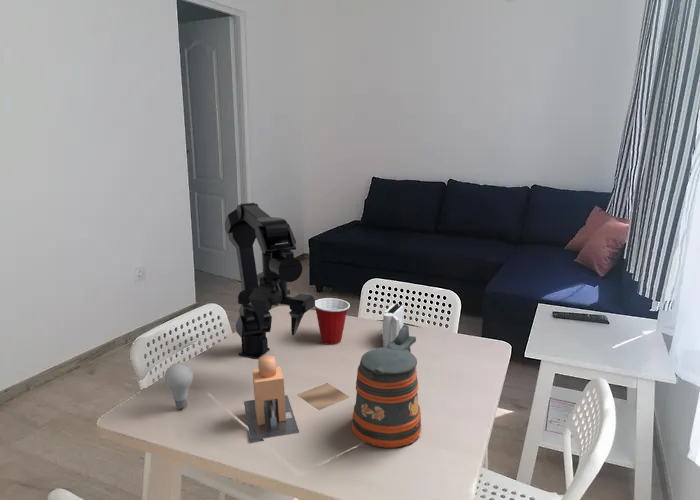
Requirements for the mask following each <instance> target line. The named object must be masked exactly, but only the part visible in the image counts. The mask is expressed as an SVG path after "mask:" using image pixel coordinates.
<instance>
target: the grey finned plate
mask: <svg viewBox="0 0 700 500" xmlns="http://www.w3.org/2000/svg"><path fill="white" fill-rule="evenodd" d="M244 407H245V413H246V414H245V415H246V420H247V426H248V427H247V428H248V434H249V439H250V443H255V442H256V443H257V442H261V441H264V439H268V438H275V437H280V436H281V437H283V436H287V435H294V434H300V430H299V427H298V424H297V421H296V418H295V415H294V412H293V409H292V405H291V402H290V399H289V396H288V395H286V394H285V411H286V421H280V422H279V419H278V415H277V412H276V408H275V399H272V400H266V401H264V414H265V424H263V425H258V422H257V417H256V411H255V399H251V400H245V401H244Z"/></svg>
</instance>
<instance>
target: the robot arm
mask: <svg viewBox="0 0 700 500" xmlns="http://www.w3.org/2000/svg"><path fill="white" fill-rule="evenodd" d="M225 218H226V219H225V221H224V229H225V233H226V234H227V236H228V240H229V241H230V243H231V244H232V245H233V246H234V248H235V250H236V257H237V264H238V270H239V278H240V284H241V291H239V293H238V294H237V304H238V305H240V306H239V310H238V311H239V312H238V313H239V316H238V319H237V320H236V324H235V329H236V330H235V331H236V333H237V335H238V336H240V339H241V341H240V342H241V351H240V352H238V356H243V357H248V358H253V359H259V358H260V357H262V356H265V354H267V353H268V352H269V351H270V347H268V346H269V345H268V337H267V333H270V332H271V329H272V318H273V316H272V314H271V313H270V312H271V308H272V306H275V307H277V306H278V305H285V306H286V305H287V306H289V309H290V311H289V312H288V314H289V315H290V318H291V321H290V322H291V323H290V328H291V329H290V330H291V336H292V337H294V336H295V335H296V334H297V331H298V329H299V326H300V324H301V321H302V319H303V317H304V315H305V313H307V312H308V311H310V310H311V309H314V308H315V307H314V306H315V300H316V299H315V296H314V295H312V294H305V293H298V294H297V295H295V296H294V297H292V296H289V295H291V289H288V283H293V282H295V281H297V280H299V278H300V277H301V275H302V273H303V265H302V262H301V261H300V260H299V258H296V257H295V254H294V250H297V247H296V244H297V241H296V238H295V236H294V232H293V231H292V228H291V226H290V224H289V223H288V221H287V220H286V219H284V218H282V217H276V216H275V217H274V216H270V215H269V214H268V213H267V212H266V211H264V210H263V209H261V208H260V206H259V204H258V203H255V202H247V203H246V202H244V203H240V204H238V205H237V206H236V208H235V209H234V210H233V211H231V212H229V213H228V214H227V216H226V217H225ZM255 241H257V243H258V246H259V248H260V251H261V260H262V263H261V264H262V266H261V267H262V276H261V277H258V272H257V264H256V257H255V252H254V244H255ZM258 278H259V280H258Z"/></svg>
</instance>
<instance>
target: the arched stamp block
mask: <svg viewBox="0 0 700 500" xmlns="http://www.w3.org/2000/svg"><path fill="white" fill-rule="evenodd" d="M257 360H258V361H257V363H258V368H257V369H252V370H251V372H252V381H253V382H252V384H253V395H254V396H253V397H254V399H253V400H255V411H256V417H257V422H258V425H263V424H265V414H264V401H266V400H272V399H275V408H276V412H277V415H278V419H279V422H280V421H286V411H285V395H286V394H285V382H284V381H285V380H284V379H285V378H284V375H283V372H282V369H281V367H280V366H281V365H280V366H277V364H276V357H275V356H273V355H269V354H267V355H262V356H261V357H260V358H257Z"/></svg>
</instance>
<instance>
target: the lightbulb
mask: <svg viewBox="0 0 700 500" xmlns="http://www.w3.org/2000/svg"><path fill="white" fill-rule="evenodd" d="M193 378H194V373H193V370H192V368H191V366H189V365H188V364H186V363H184V362H175V363H173V364H171V365H170V366H169V367H168V368H167V369H166V370H165V373H164V382H165V384H166V386H167V387H168V389H169V390H170V391H171V393H172V397H173V400H174V404H175V408H176V409H179V410H183V409H185V408H186V407H187V405H188V395H189V389H190V386H191V384H192V383H193Z"/></svg>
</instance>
